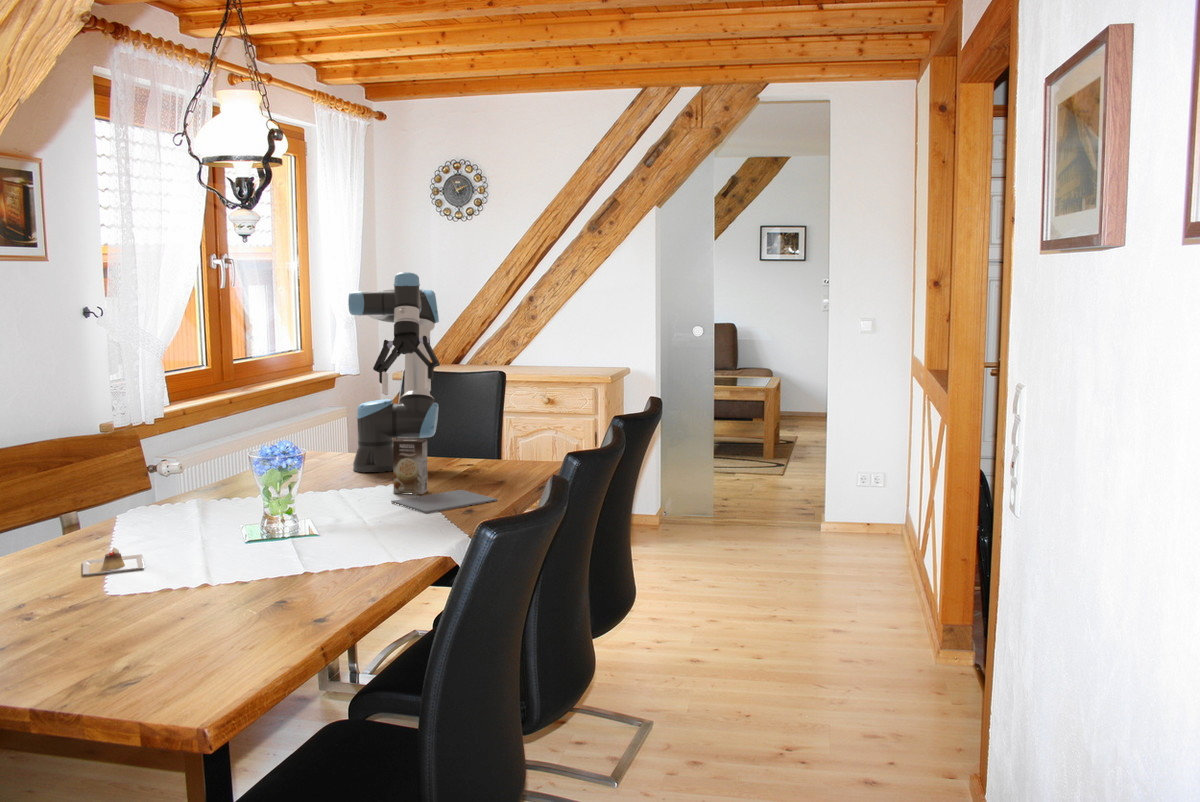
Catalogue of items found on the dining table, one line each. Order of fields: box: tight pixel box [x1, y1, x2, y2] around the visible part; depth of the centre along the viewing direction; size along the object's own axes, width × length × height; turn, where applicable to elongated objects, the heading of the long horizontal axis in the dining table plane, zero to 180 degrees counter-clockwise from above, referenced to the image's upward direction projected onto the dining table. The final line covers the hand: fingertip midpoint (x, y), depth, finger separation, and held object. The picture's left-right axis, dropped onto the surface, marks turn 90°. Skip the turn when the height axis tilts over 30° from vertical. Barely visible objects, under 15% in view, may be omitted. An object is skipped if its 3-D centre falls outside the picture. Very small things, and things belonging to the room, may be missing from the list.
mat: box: [390, 489, 498, 514], centre depth 283 cm, size 18×24×1 cm
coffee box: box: [392, 438, 428, 495], centre depth 295 cm, size 9×6×16 cm
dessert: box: [82, 547, 146, 577], centre depth 217 cm, size 12×12×5 cm
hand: (406, 392), depth 293 cm, fingers open, 13 cm apart
